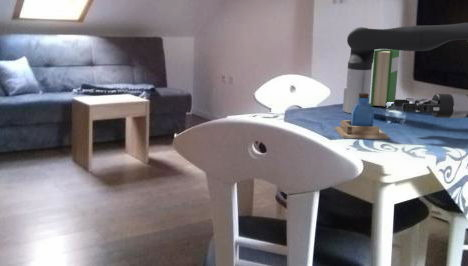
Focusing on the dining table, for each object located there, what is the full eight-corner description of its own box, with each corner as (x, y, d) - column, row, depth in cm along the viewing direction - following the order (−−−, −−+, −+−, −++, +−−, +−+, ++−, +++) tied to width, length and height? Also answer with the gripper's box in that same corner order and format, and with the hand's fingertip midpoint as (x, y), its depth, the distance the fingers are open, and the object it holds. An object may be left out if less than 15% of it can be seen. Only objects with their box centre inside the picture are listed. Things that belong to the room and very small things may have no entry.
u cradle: (343, 138, 153) (343, 127, 152) (334, 129, 167) (335, 119, 166) (389, 139, 153) (390, 128, 152) (376, 129, 167) (377, 120, 166)
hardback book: (387, 108, 214) (392, 51, 209) (370, 106, 217) (374, 50, 212) (394, 103, 230) (399, 49, 225) (378, 101, 233) (382, 49, 228)
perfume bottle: (372, 133, 156) (375, 95, 154) (351, 132, 157) (354, 94, 155) (370, 129, 162) (372, 92, 160) (350, 128, 163) (353, 92, 161)
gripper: (442, 91, 164) (392, 90, 164) (461, 97, 150) (406, 96, 150) (439, 113, 166) (390, 112, 166) (458, 121, 152) (404, 120, 152)
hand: (398, 104), depth 158 cm, fingers open, 8 cm apart
